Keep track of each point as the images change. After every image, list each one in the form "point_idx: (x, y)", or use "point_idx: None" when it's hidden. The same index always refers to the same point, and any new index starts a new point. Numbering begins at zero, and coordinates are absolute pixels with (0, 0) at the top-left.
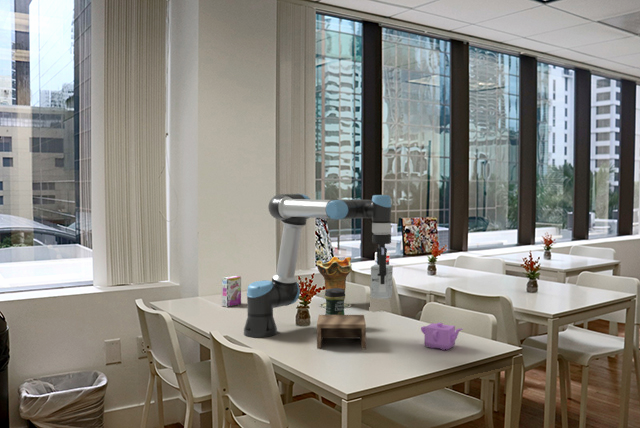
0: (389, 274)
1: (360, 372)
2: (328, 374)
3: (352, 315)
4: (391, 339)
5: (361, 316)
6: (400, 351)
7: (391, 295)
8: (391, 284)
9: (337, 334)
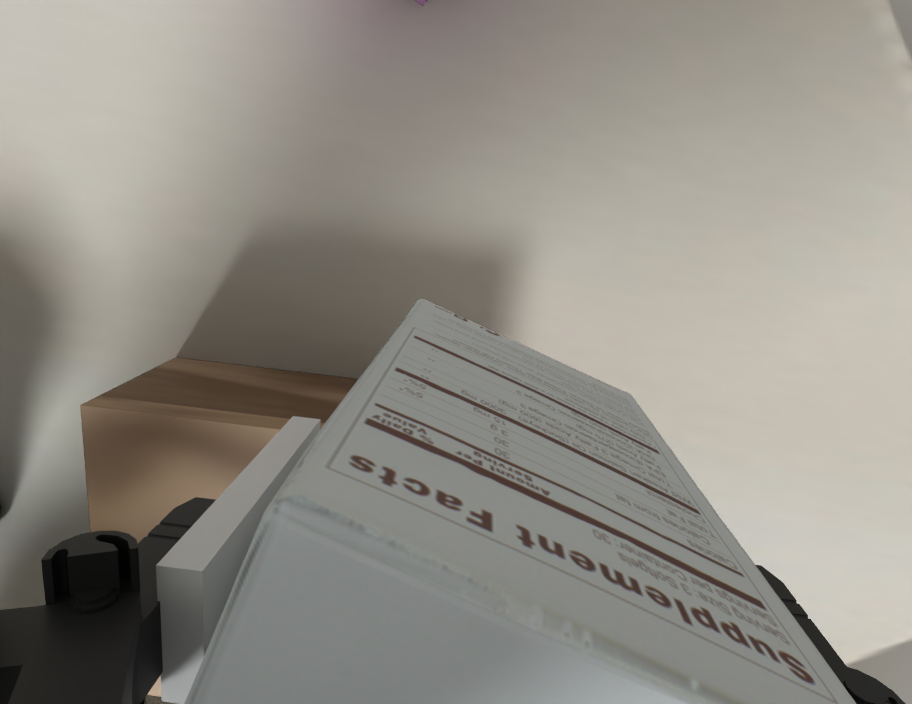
0: (668, 544)
1: (826, 476)
2: (817, 612)
3: (109, 488)
4: (219, 196)
5: (138, 431)
6: (489, 194)
7: (458, 315)
8: (465, 360)
9: None
